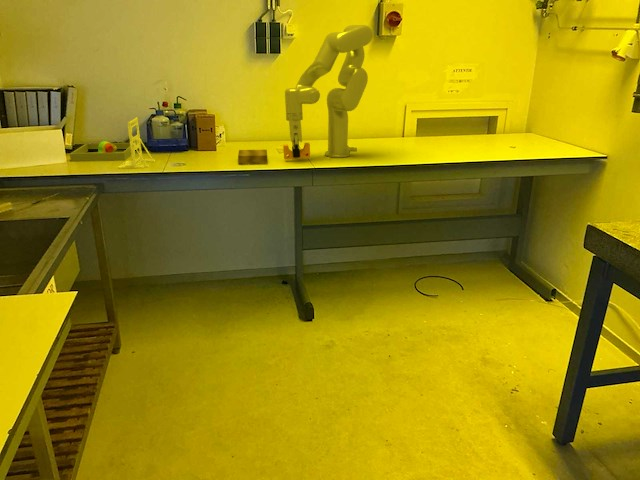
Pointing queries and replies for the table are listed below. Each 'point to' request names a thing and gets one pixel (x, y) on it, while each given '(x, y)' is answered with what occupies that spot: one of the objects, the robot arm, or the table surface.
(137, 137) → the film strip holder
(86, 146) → the grey square tray
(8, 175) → the table surface
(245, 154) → the walnut block
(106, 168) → the table surface
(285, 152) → the pipe clamp
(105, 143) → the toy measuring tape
